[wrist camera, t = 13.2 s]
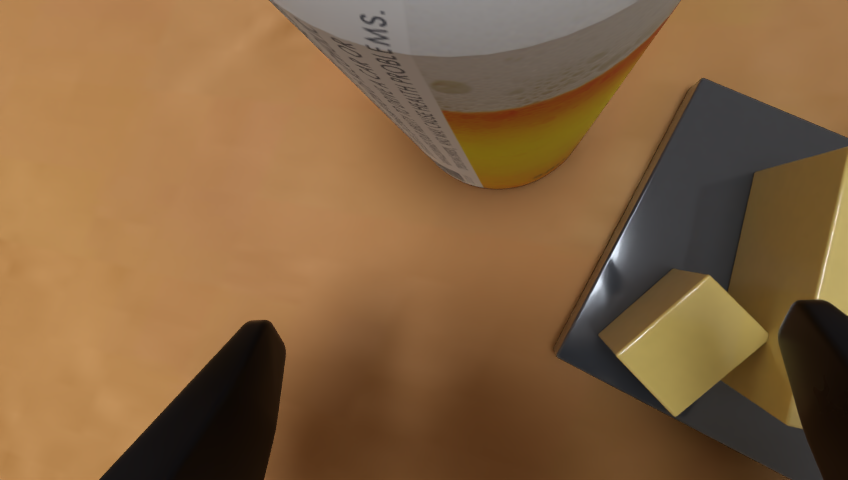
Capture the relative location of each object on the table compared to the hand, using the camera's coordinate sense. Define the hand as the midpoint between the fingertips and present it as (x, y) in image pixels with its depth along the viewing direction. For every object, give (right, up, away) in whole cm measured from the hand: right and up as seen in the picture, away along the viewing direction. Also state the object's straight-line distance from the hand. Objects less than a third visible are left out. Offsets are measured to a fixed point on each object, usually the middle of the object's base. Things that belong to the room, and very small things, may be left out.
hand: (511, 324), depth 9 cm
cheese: (+10, 0, +8) cm, 12 cm away
